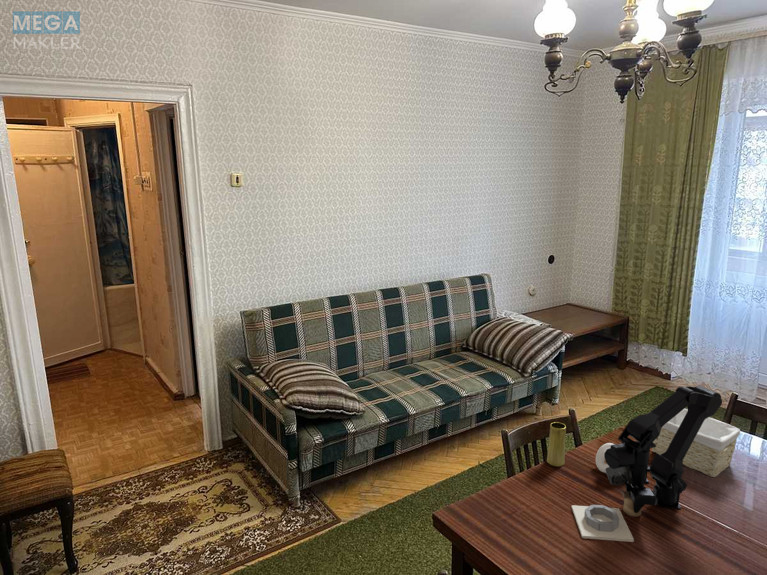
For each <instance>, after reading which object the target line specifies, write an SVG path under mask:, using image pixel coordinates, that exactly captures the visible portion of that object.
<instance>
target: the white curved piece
mask: <svg viewBox="0 0 767 575" xmlns="http://www.w3.org/2000/svg"><path fill="white" fill-rule="evenodd" d="M613 444H614V443H612V442H607V443H604V444H603V445H601V446H600V447H599V448H598V449H597V452H596V454H595V464H596V467H597V469H598V470H599V471H600V472H602V473H604V474H607V473H606V470H605V469H606V468H608V467H609V466H608V464H607V463H606V461H605V457H604V453H605V452H606V450H607V449H609V448H611V445H613Z"/></svg>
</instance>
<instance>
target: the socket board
mask: <svg viewBox="0 0 767 575" xmlns="http://www.w3.org/2000/svg"><path fill="white" fill-rule="evenodd" d="M571 511H572V513H573V516H574V520H575V522H576V526H577V527H578V530H579V533H580V536H581V538H582V539H591V540H603V541H615V542H618V541H619V542H631V543H633V542H635V539H634V536H633V534H632V532H631V531H630V529H629V526H628V525H627V524H628V523H627V522H626V519H625V518H624V516H623V513H622V512H621V509H620V508H619V507H618V508H617V507H608V506H606V505H602V504H590V505H589V506H588V505H576V504H575V505H574V504H573V505H571Z"/></svg>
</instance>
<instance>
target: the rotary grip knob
mask: <svg viewBox="0 0 767 575" xmlns="http://www.w3.org/2000/svg"><path fill="white" fill-rule="evenodd" d="M628 493H631V492H627V491H626V490H625V491H623V490H622V492H621V496H622V498H623V500H624V501H623V508H622V510H623V513H625V514H626V515H628V516H630V517H634V518H638V517H640V516H641V515H642V509H643V508H642V509H641V510H640V511H639V512H638V513H634V510H633V500H632V499H631V497H630V496H629V494H628Z"/></svg>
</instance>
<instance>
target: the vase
mask: <svg viewBox="0 0 767 575" xmlns="http://www.w3.org/2000/svg"><path fill="white" fill-rule="evenodd" d="M566 433H567V426H566V424H565V423H562V422H559V421H554V422H551V423H550V425H549V436H548V438H549V439H548V449H547V456H546V457H547V458H546V462H547V463H548V464H549V465H551V466H553V467H562V466H564V465H565V464H566V463H565V457H566V456H565V455H566V435H567V434H566Z"/></svg>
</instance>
